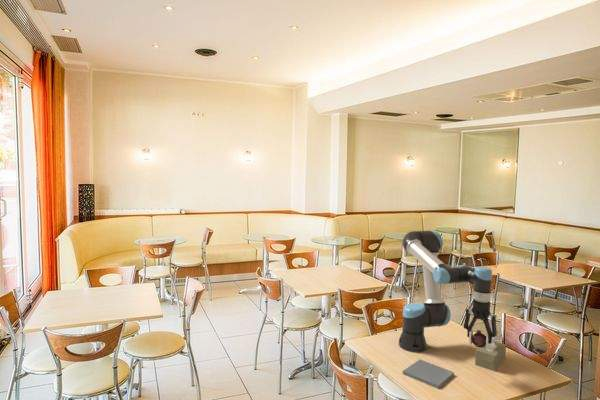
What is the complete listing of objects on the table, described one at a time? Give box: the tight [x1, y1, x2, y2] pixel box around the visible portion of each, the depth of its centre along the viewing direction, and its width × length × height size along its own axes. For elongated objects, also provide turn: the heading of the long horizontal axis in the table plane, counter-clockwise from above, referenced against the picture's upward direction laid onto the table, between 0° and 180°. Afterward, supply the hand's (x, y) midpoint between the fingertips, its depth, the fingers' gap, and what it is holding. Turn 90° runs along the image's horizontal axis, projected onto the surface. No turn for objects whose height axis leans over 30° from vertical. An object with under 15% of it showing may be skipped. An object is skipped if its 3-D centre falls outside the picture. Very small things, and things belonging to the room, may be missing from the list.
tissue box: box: [474, 334, 507, 372], centre depth 207 cm, size 19×10×16 cm, turn 139°
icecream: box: [471, 329, 487, 348], centre depth 191 cm, size 7×7×15 cm
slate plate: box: [402, 359, 455, 389], centre depth 193 cm, size 18×17×2 cm
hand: (478, 346), depth 191 cm, fingers closed on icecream, 7 cm apart
